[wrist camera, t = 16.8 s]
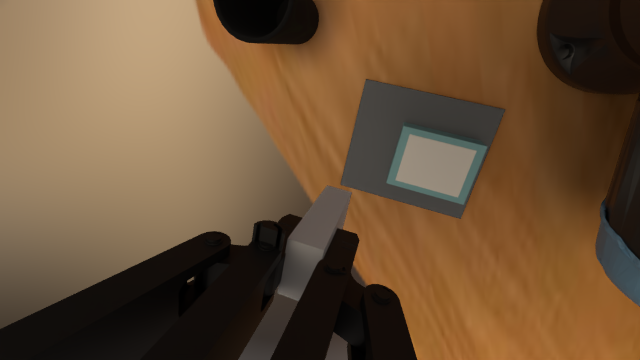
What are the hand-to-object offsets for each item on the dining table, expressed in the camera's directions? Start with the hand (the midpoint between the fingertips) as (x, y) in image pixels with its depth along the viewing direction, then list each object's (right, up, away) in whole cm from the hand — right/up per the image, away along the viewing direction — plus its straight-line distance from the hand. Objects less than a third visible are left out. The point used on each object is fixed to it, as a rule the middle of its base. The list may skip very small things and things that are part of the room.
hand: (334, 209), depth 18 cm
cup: (-4, +21, +19) cm, 29 cm away
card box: (+8, +5, +19) cm, 21 cm away
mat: (+11, +6, +20) cm, 24 cm away
